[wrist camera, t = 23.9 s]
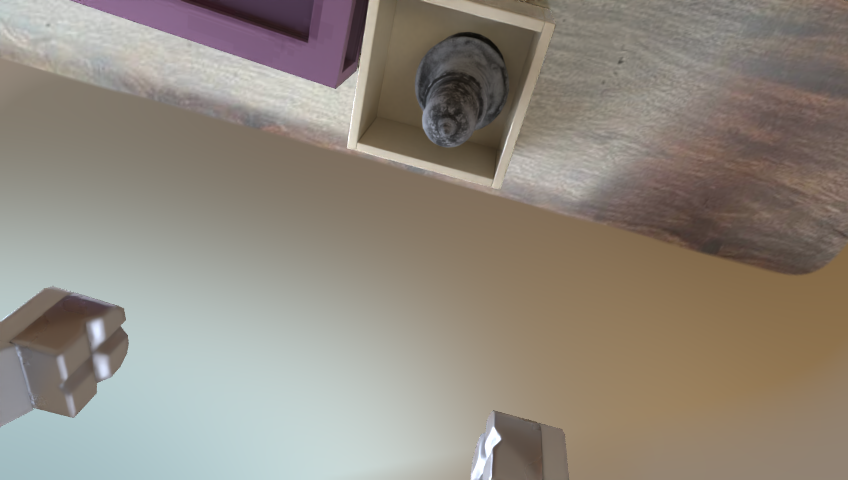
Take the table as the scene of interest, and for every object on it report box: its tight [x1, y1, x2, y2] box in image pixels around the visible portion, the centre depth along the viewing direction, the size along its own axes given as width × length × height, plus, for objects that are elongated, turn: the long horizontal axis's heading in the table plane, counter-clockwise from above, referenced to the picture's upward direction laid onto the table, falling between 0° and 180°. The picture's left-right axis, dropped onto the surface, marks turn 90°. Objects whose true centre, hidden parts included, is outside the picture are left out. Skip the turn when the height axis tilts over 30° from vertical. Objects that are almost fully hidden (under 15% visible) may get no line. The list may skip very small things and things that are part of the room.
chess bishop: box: [415, 32, 509, 148], centre depth 30 cm, size 6×6×12 cm
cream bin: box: [347, 0, 556, 190], centre depth 33 cm, size 10×10×6 cm
